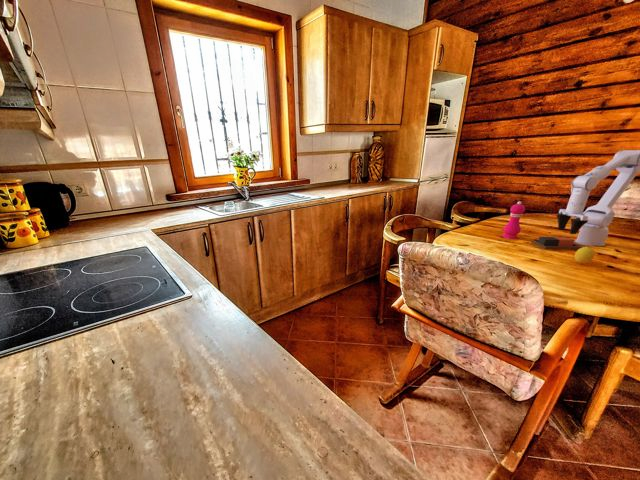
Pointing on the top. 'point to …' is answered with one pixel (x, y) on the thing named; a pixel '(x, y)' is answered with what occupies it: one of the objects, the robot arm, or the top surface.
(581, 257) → the lemon
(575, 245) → the backing tray
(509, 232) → the pepper mill
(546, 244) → the pad
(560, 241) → the pad
